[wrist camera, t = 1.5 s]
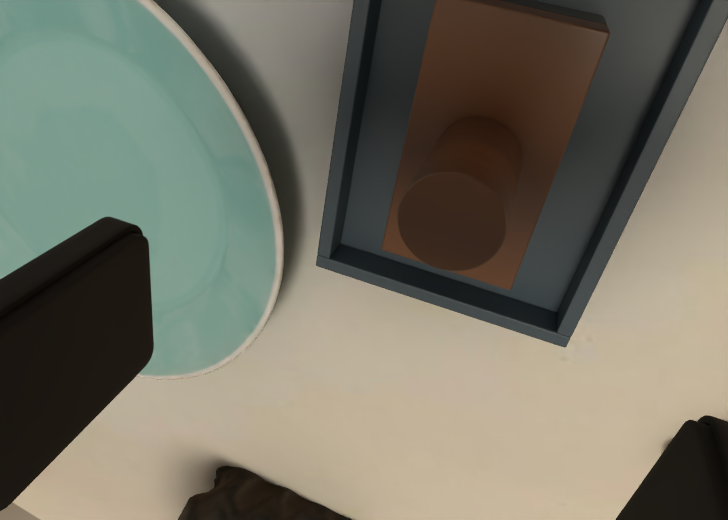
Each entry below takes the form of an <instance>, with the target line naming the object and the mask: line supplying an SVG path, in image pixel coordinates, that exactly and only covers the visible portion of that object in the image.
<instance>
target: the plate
mask: <svg viewBox="0 0 728 520" xmlns="http://www.w3.org/2000/svg"><path fill="white" fill-rule="evenodd" d="M104 217H113V218H116V219H119V220H122V221H125V222H128V223H131V224H134V225H137V226H138V227H140V229H141V230H142V233H143V236H144V237H146V238H147V240H148V243H149V257H150V277H151V298H152V318H153V338H154V350H153V354H152V357H151V359H150V361H149V362H148V364H147V365H146V366H145V367H144V368H143V369H142V371H141V372H140V373H139V374H138V375H137V376H138V377H144V378H151V379H168V380H169V379H184V378H190V377H195V376H199V375H203V374H206V373H209V372H212V371H214V370H217V369H219V368H221V367H223V366H225V365H226V364H228V363H230V362H231V361H232V360H234V359H235V358H237V357H238V356H239V355H240V354H241V353H243V352H244V351H245V350H246V349H247V348H248V347H249V346H250V345H251V344H252V343H253V341H254V340H255V339H256V338H257V336H258V335H259V334H260V332H261V331H262V329H263V328H264V326H265V325H266V323H267V321H268V319H269V317H270V315H271V313H272V311H273V308H274V305H275V303H276V300H277V296H278V293H279V290H280V286H281V281H282V275H283V268H284V233H283V224H282V217H281V212H280V207H279V202H278V198H277V194H276V190H275V186H274V182H273V179H272V176H271V173H270V170H269V167H268V164H267V162H266V159H265V157H264V155H263V152H262V150H261V147H260V145H259V143H258V141H257V139H256V136H255V134H254V132H253V130H252V128H251V126H250V124H249V122H248V120H247V119H246V117H245V115H244V113H243V112H242V110H241V108H240V106H239V105H238V103H237V101H236V99H235V98H234V96H233V95H232V93H231V92H230V90H229V88H228V87H227V85H226V84H225V82H224V81H223V80H222V78H221V77H220V75H219V74H218V72H217V71H216V70H215V68H214V67H213V65H212V64H211V63H210V62H209V60H208V59H207V58H206V57H205V55H204V54H203V53H202V52H201V51H200V49H199V48H198V47H197V46H196V44H195V43H194V42H193V41H192V40H191V38H190V37H189V36H188V35H187V34H186V33H185V32H184V30H183V29H182V28H181V27H180V26H179V25H178V24H177V23H176V22H175V21H174V20H173V19H172V18H171V17H170V16H169V15H168V14H167V13H166V12H165V11H164V10H163V9H162V8H161V7H160V6H158V5H157V4H156V3H155V2H154V1H153V0H0V279H2V278H3V277H5V276H6V275H8V274H10V273H11V272H13V271H15V270H16V269H18V268H20V267H21V266H23V265H25V264H26V263H28V262H30V261H31V260H33V259H35V258H36V257H38V256H40V255H41V254H43V253H45V252H46V251H48V250H50V249H51V248H53V247H55V246H56V245H58V244H60V243H61V242H63V241H65V240H66V239H68V238H70V237H71V236H73V235H74V234H76V233H78V232H79V231H81V230H83V229H84V228H86V227H88V226H89V225H91V224H93V223H94V222H96V221H98V220H99V219H101V218H104Z"/></svg>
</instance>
